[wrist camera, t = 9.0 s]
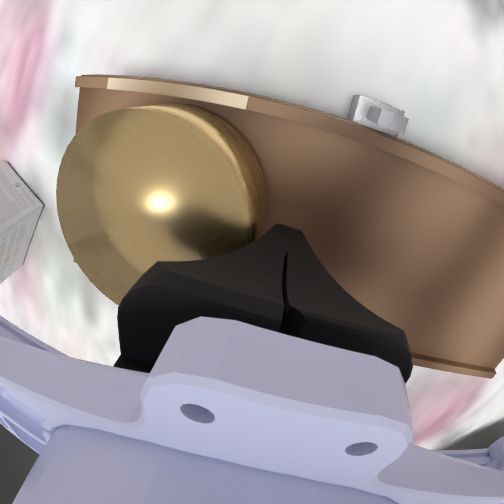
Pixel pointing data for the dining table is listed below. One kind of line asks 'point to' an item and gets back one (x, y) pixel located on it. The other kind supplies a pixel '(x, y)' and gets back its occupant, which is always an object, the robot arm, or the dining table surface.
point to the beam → (365, 214)
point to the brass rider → (157, 192)
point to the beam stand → (377, 116)
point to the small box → (15, 220)
